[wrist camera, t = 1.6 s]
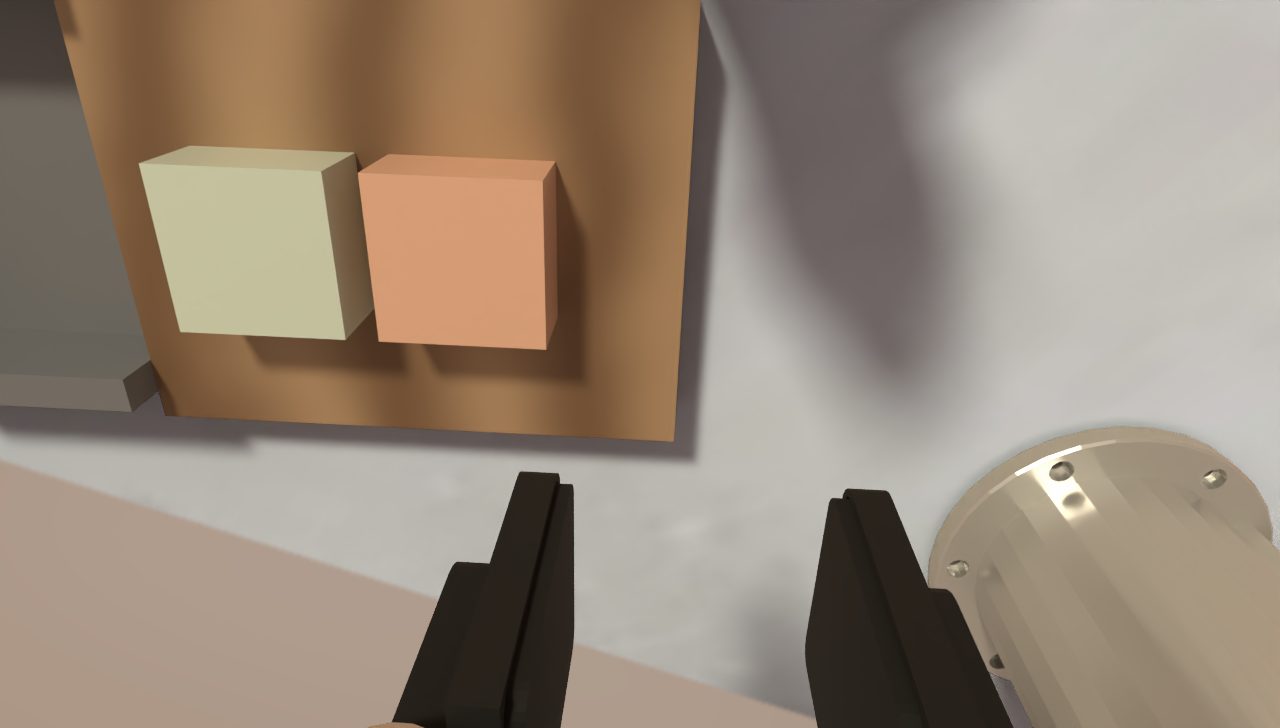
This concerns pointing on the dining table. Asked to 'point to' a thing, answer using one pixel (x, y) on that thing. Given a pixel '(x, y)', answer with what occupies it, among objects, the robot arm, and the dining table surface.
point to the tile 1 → (261, 240)
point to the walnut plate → (428, 126)
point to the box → (58, 237)
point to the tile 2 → (462, 250)
